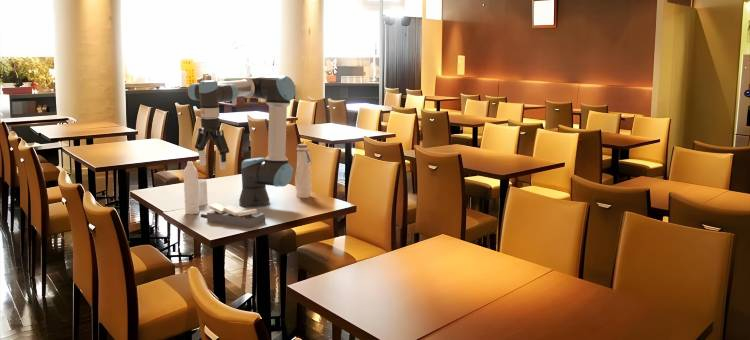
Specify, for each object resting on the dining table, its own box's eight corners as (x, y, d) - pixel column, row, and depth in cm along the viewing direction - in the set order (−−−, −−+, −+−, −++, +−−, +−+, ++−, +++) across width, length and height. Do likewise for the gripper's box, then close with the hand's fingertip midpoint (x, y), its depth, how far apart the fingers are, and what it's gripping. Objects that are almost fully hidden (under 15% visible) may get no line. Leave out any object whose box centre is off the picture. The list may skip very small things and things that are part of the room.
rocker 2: (230, 207, 278) (230, 205, 277) (242, 213, 275) (243, 210, 275) (223, 210, 273) (223, 207, 273) (235, 216, 271) (235, 213, 270)
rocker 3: (245, 213, 274) (244, 210, 274) (257, 211, 271) (256, 208, 271) (237, 216, 270) (237, 213, 270) (250, 214, 267) (249, 211, 267)
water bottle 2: (317, 196, 328) (316, 144, 323) (306, 199, 321) (305, 146, 316) (302, 193, 334) (301, 142, 328) (291, 196, 326) (290, 144, 321)
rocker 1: (216, 205, 281) (217, 203, 281) (228, 211, 279) (228, 208, 278) (209, 208, 277) (209, 205, 276) (221, 213, 274) (221, 211, 274)
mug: (181, 206, 304) (180, 182, 302) (198, 201, 315) (197, 178, 312) (194, 208, 301) (193, 184, 298) (210, 203, 311) (209, 180, 309)
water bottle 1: (188, 215, 287) (185, 163, 283) (183, 212, 292) (180, 161, 288) (206, 212, 293) (203, 161, 288) (200, 209, 298) (198, 159, 293)
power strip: (209, 213, 291) (208, 203, 290) (265, 222, 277) (264, 211, 276) (192, 219, 281) (192, 208, 280) (250, 228, 267) (249, 217, 266)
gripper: (184, 116, 261) (187, 165, 265) (221, 120, 246) (224, 172, 250) (199, 114, 267) (202, 162, 271) (236, 119, 252) (238, 169, 256)
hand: (212, 167), depth 261 cm, fingers open, 13 cm apart
